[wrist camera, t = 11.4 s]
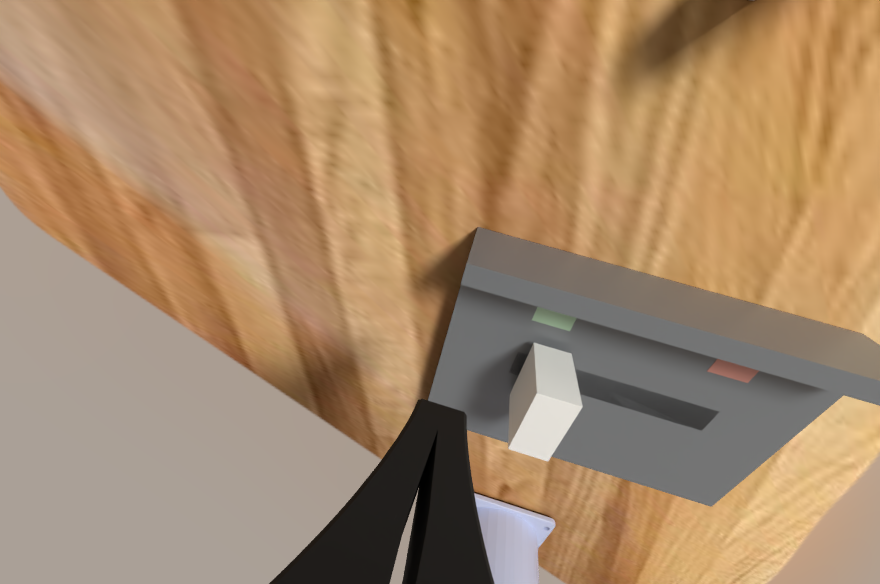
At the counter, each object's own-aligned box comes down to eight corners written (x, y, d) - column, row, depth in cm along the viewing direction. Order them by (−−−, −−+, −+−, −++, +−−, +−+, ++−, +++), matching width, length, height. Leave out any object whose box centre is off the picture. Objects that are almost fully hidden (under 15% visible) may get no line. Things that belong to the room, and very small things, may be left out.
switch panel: (700, 483, 23) (737, 560, 19) (428, 399, 24) (411, 456, 20) (863, 334, 17) (968, 406, 13) (477, 226, 18) (466, 263, 14)
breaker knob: (543, 405, 20) (548, 461, 17) (509, 394, 20) (508, 448, 17) (571, 353, 18) (582, 406, 15) (533, 342, 18) (536, 393, 15)
